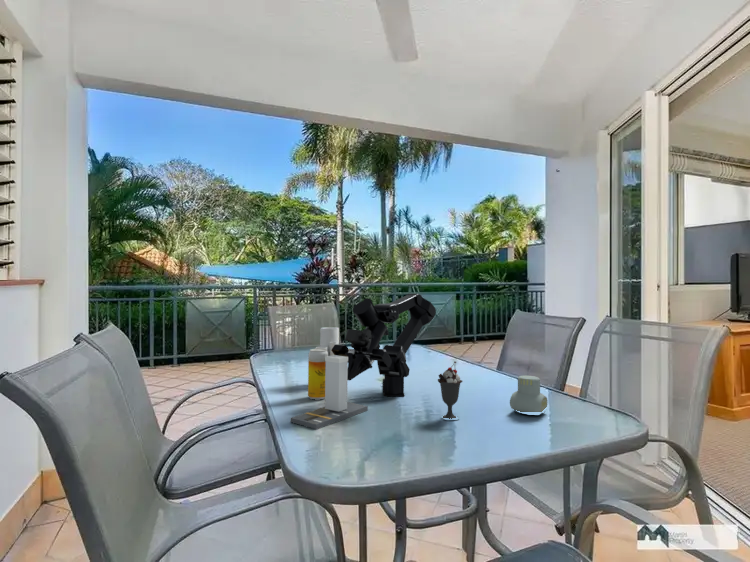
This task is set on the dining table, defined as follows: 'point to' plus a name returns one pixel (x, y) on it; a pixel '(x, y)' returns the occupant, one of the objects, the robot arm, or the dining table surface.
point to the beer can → (316, 373)
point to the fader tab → (336, 382)
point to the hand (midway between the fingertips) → (348, 379)
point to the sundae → (449, 389)
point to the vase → (328, 339)
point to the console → (327, 416)
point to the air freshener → (528, 395)
